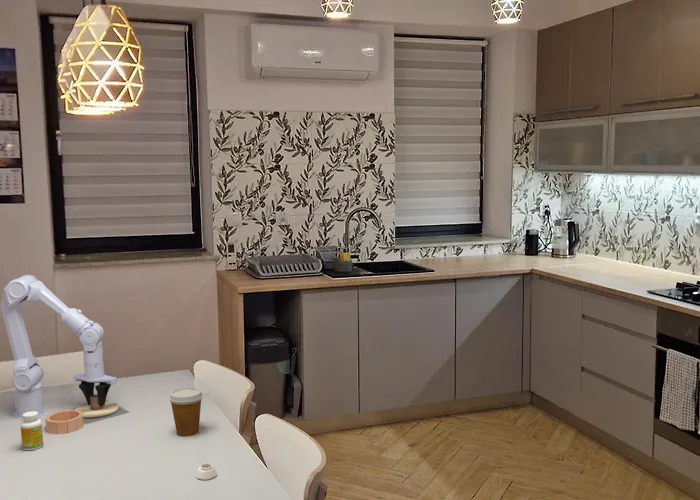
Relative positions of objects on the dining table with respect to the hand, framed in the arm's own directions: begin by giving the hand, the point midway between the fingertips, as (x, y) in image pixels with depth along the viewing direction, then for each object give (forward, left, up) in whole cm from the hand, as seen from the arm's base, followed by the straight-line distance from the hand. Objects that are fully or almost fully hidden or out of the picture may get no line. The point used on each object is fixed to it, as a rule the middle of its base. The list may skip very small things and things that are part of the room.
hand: (96, 404), depth 225 cm
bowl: (+6, -12, -3) cm, 14 cm away
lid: (0, 0, -2) cm, 2 cm away
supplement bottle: (+13, -24, -3) cm, 28 cm away
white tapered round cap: (+64, 0, -3) cm, 64 cm away
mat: (0, 0, -3) cm, 3 cm away
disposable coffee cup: (+35, +12, -3) cm, 37 cm away
